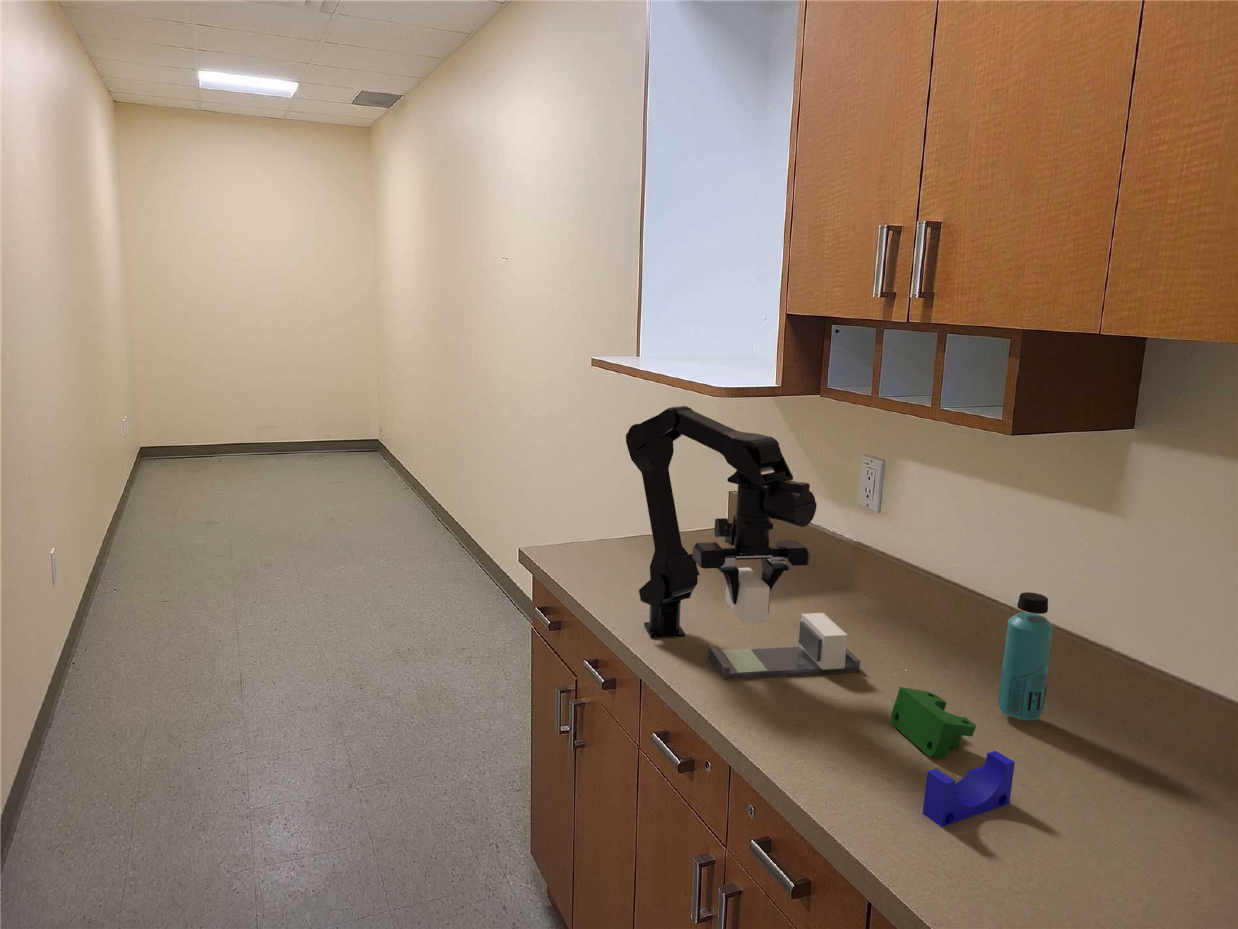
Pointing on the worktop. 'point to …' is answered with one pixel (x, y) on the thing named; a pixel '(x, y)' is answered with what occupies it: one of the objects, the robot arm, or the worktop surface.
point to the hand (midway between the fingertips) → (747, 602)
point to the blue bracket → (968, 791)
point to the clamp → (929, 722)
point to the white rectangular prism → (750, 597)
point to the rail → (772, 662)
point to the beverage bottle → (1026, 659)
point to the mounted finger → (823, 641)
